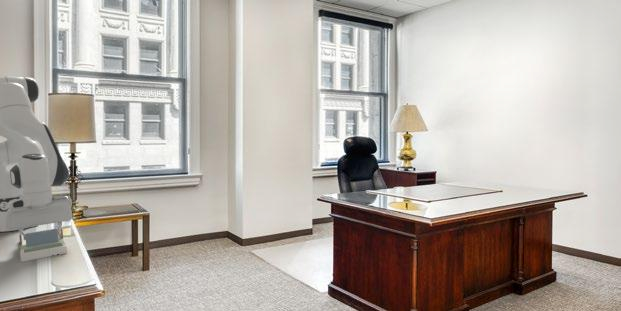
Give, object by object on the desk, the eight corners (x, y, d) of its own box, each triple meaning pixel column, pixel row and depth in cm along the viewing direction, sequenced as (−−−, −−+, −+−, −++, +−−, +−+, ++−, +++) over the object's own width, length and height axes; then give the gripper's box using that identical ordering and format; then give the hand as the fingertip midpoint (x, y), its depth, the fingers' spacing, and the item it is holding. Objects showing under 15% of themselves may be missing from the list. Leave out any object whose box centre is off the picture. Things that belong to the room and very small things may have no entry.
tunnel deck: (21, 240, 163) (19, 225, 162) (59, 234, 170) (58, 219, 170) (21, 261, 136) (19, 243, 135) (67, 252, 143) (65, 235, 143)
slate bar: (26, 244, 147) (25, 233, 147) (57, 239, 152) (56, 228, 152) (26, 247, 144) (25, 235, 144) (58, 241, 149) (57, 230, 149)
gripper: (70, 194, 158) (73, 229, 159) (3, 202, 146) (7, 240, 147) (72, 196, 153) (75, 233, 154) (3, 204, 141) (7, 244, 142)
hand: (41, 236), depth 150 cm, fingers open, 8 cm apart
